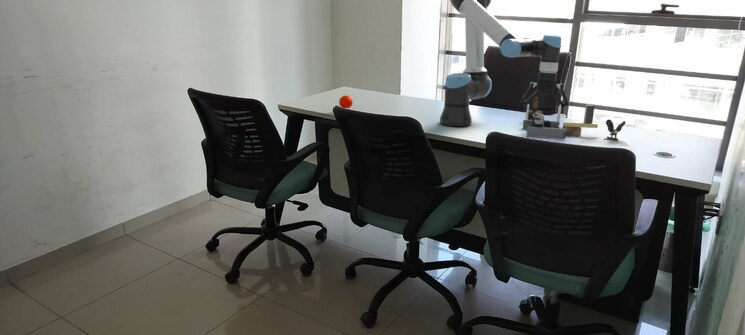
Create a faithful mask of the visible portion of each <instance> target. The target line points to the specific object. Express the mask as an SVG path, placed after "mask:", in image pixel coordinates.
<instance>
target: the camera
mask: <svg viewBox="0 0 745 335" xmlns="http://www.w3.org/2000/svg"><path fill="white" fill-rule="evenodd" d="M550 121H551V120H546V119H545V116H544V113H542V114H541V113H535V114H533V120H532V127H543V128H551V122H550Z"/></svg>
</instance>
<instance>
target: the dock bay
mask: <svg viewBox="0 0 745 335" xmlns="http://www.w3.org/2000/svg"><path fill="white" fill-rule="evenodd" d="M522 121H523V122H522V129H526V137H533V138H534V137H535V138H537V137H538V138H553V139H554V138H555V139H566V136H567V135H566V129H563V126H561V125H560V124H561V123H560V122H561V120H560V121H559V122H558V121H557V120H549V121H550V122H551V128H543V127H532V120H526V119H523V120H522Z"/></svg>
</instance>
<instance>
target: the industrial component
mask: <svg viewBox="0 0 745 335" xmlns="http://www.w3.org/2000/svg"><path fill="white" fill-rule="evenodd" d="M532 101H533V103H532V109H529V112H528V120H533V114H535V113H541V114H543V111H542V110H538V107H539V106H538V105H539V104H538V103H539V97H537V96H536V97H535V98H534V99H533V100H532Z"/></svg>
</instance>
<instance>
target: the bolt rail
mask: <svg viewBox="0 0 745 335" xmlns="http://www.w3.org/2000/svg"><path fill="white" fill-rule="evenodd" d="M562 128H563V129H566V136H573V137H575V136H576V137H581V136H582V127H565V126H563V125H562Z"/></svg>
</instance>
